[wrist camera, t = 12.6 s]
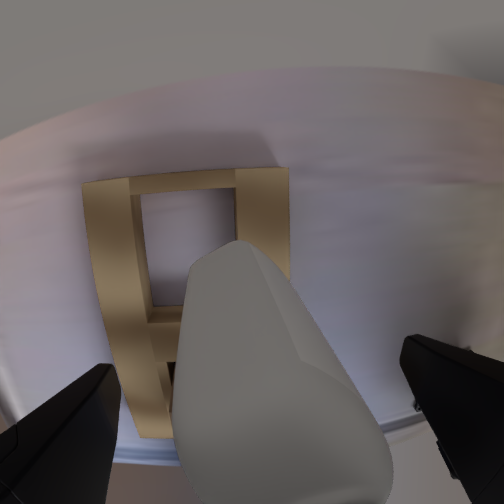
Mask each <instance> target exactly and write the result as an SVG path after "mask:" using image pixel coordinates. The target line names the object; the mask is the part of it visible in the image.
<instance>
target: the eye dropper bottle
mask: <svg viewBox="0 0 504 504" xmlns="http://www.w3.org/2000/svg"><path fill="white" fill-rule="evenodd" d="M172 429H173V437H174V442H175V447H176V450H177V454H178V457H179V460H180V462H181V465H182V468H183V470H184V472H185V474H186V476H187V478H188V480H189V482H190V484H191V486H192V488H193V489H194V491H195V492H196V494H197V496H198V497H199V499H200V500H201V501H202V503H203V504H385V503H386V501H387V499H388V497H389V495H390V492H391V489H392V484H393V462H392V456H391V453H390V449H389V446H388V443H387V441H386V439H385V437H384V435H383V432H382V430H381V429H380V427H379V425H378V423H377V421H376V420H375V418H374V416H373V415H372V413H371V411H370V410H369V408H368V406H367V405H366V403H365V401H364V400H363V398H362V396H361V395H360V393H359V392H358V390H357V388H356V387H355V385H354V383H353V382H352V380H351V378H350V377H349V375H348V374H347V372H346V370H345V369H344V367H343V366H342V364H341V362H340V361H339V359H338V358H337V356H336V354H335V353H334V351H333V349H332V348H331V346H330V345H329V343H328V341H327V340H326V338H325V337H324V335H323V334H322V332H321V330H320V329H319V327H318V326H317V324H316V322H315V321H314V319H313V318H312V316H311V314H310V313H309V311H308V310H307V308H306V307H305V305H304V303H303V302H302V300H301V299H300V297H299V296H298V294H297V292H296V291H295V289H294V288H293V286H292V285H291V283H290V282H289V280H288V279H287V277H286V276H285V275H284V273H283V272H282V271H281V270H280V269H279V267H278V266H277V265H276V264H275V263H274V262H273V261H272V260H271V259H270V258H269V257H268V256H267V255H265V254H264V253H263V252H262V251H261V250H259V249H258V248H257V247H255V246H254V245H252V244H251V243H249V242H247V241H243V240H236V241H232V242H229V243H227V244H225V245H223V246H222V247H220V248H218V249H216V250H214V251H213V252H211V253H209V254H207V255H205V256H204V257H202V258H200V259H199V260H197V261H196V262H195V263H194V264H193V265H192V266H191V267H190V271H189V276H188V281H187V287H186V293H185V300H184V306H183V313H182V320H181V327H180V335H179V343H178V351H177V359H176V368H175V377H174V390H173V404H172Z"/></svg>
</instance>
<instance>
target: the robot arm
mask: <svg viewBox="0 0 504 504" xmlns="http://www.w3.org/2000/svg"><path fill="white" fill-rule="evenodd" d="M400 366H401V368H402V371H403V373H404V375H405V377H406V379H407V381H408V384H409V386H410V388H411V390H412V393H413V395H414V397H415V399H416V401H417V402H416V405H415V408H414V409H415V410H416V412H419V411H422V412H423V414H424V416H425V417H426V419H427V421H428V423H429V424H430V426H431V428H432V430H433V431H434V433H435V435H436V437H437V439H438V441H437V442H436V443H437V445H438V447H439V448H438V449H439V451H440V453H441V455H442V457H443V459H444V461H445V463H446V465H447V467H448V469H449V471H450V475H451V477H452V478H453V479H459V480H460V482H461V484H462V485H463V487H464V489H465V491H466V493H467V495H468V497H469V499H470V501H471V502H472V504H504V362H501V361H498V360H495V359H492V358H489V357H486V356H483V355H480V354H476V353H474V352H473V351H472V350H469V351H467V350H464V349H461V348H458V347H455V346H452V345H449V344H446V343H443V342H440V341H437V340H434V339H431V338H428V337H425V336H422V335H419V334H414V335H410V336H407V337H406V338H405V339H404V342H403V346H402V351H401V355H400ZM120 401H121V387H120V384H119V380H118V377H117V374H116V370H115V367H114V366H113V365H112V364H107V363H99V364H97V365H96V366H94V367H93V368H92V369H90V370H89V371H88V372H86V373H85V374H83V375H82V376H81V377H79V378H78V379H77V380H75V381H74V382H72V383H71V384H70V385H68V386H67V387H65V388H64V389H63V390H61V391H60V392H59V393H57V394H56V395H54V396H53V397H52V398H50V399H49V400H47V401H46V402H45V403H43V404H42V405H40V406H39V407H38V408H36V409H35V410H34V411H32V412H31V413H29V414H28V415H27V416H25V417H24V418H22V419H21V420H20V421H18V422H17V425H16V424H14V425H13V426H11V427H10V428H9V429H7V430H6V431H4V432H3V433H2V434H0V504H105V502H106V495H107V490H108V484H109V478H110V472H111V467H112V462H113V457H114V452H115V447H116V441H117V433H118V421H119V410H120Z"/></svg>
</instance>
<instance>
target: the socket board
mask: <svg viewBox="0 0 504 504" xmlns="http://www.w3.org/2000/svg"><path fill="white" fill-rule="evenodd" d="M81 185H82V196H83V206H84V215H85V223H86V230H87V238H88V244H89V251H90V257H91V263H92V269H93V274H94V279H95V284H96V289H97V294H98V299H99V304H100V308H101V313H102V317H103V321H104V325H105V329H106V333H107V337H108V341H109V345H110V348H111V352H112V355H113V359H114V362H115V366H116V369H117V373H118V376H119V379H120V382H121V385H122V388H123V392H124V395H125V398H126V400H127V403H128V406H129V409H130V412H131V415H132V417H133V420H134V423H135V426H136V428H137V431H138V433H139V436H140V438H165V439H174V437H173V429H172V424H171V420H170V416H169V413H168V412H169V404H170V397H171V389H172V382H173V375H174V368H175V367H174V362H176V359H177V351H178V343H179V335H180V327H181V320H182V313H183V306H184V305H180V306H160V307H154V306H153V300H152V293H151V287H150V280H149V273H148V266H147V258H146V250H145V242H144V233H143V223H142V213H141V202H140V194H149V193H160V192H172V191H185V190H199V189H214V188H232V187H233V191H234V214H235V235H236V240H243V241H247V242H249V243H251V244H252V245H254V246H255V247H257V248H258V249H259V250H261V251H262V252H263V253H264V254H265V255H267V256H268V257H269V258H270V259H271V260H272V261H273V262H274V263H275V264H276V265H277V266H278V267H279V269H280V270H281V271H282V272H283V273H284V275H285V276H286V277H287V279H288V280H289V282H290V214H289V168H286V167H259V168H234V169H215V170H199V171H185V172H173V173H161V174H151V175H141V176H131V177H123V178H114V179H106V180H98V181H92V182H87V183H83V184H81Z"/></svg>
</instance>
